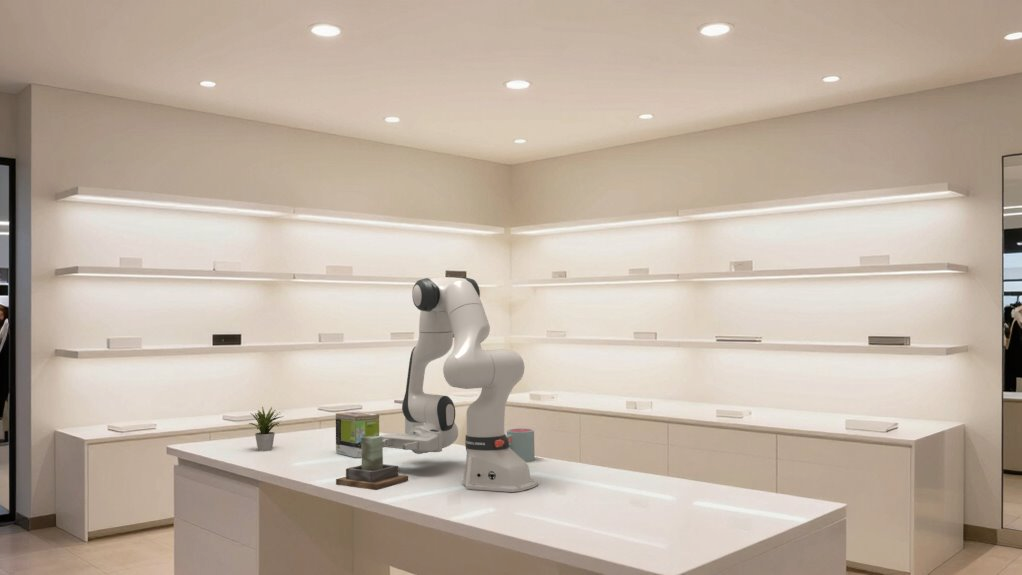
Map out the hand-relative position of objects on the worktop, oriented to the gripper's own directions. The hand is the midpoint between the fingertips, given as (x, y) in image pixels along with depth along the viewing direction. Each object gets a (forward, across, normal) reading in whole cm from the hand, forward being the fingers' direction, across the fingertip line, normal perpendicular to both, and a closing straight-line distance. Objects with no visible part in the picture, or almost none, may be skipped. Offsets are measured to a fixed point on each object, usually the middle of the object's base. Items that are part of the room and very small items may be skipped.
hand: (392, 445), depth 257 cm
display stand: (+9, 0, +10) cm, 13 cm away
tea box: (-26, -39, +10) cm, 48 cm away
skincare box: (-46, -29, +10) cm, 55 cm away
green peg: (+9, 0, +8) cm, 12 cm away
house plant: (-16, -76, +10) cm, 78 cm away
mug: (-41, +19, +10) cm, 46 cm away
